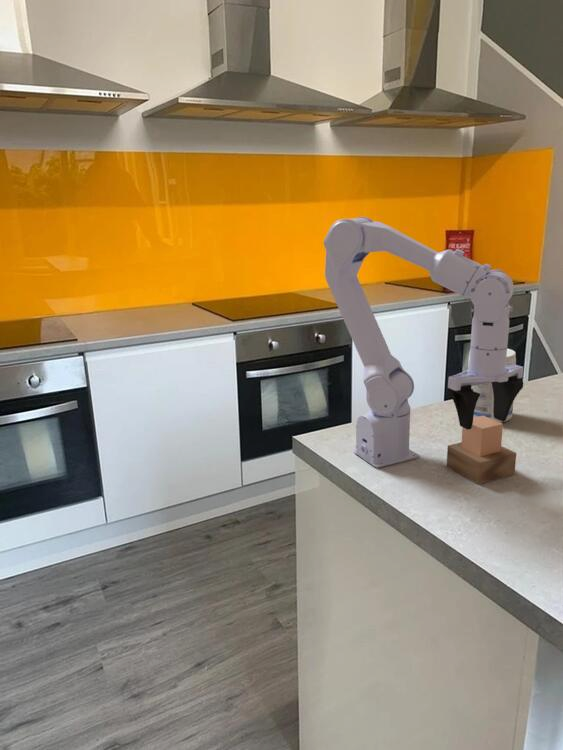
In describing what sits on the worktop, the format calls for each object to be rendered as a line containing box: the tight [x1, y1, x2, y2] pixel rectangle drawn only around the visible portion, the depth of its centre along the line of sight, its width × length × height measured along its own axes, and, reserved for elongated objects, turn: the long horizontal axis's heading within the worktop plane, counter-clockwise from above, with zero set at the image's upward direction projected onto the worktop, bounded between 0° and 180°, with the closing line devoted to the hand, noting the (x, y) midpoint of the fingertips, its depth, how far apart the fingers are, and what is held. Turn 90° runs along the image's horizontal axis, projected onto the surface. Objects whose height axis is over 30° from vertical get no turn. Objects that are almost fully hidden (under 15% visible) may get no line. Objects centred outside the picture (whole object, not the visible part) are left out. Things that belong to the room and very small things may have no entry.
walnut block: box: [446, 441, 517, 485], centre depth 102 cm, size 8×8×4 cm
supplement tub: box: [467, 348, 517, 424], centre depth 125 cm, size 10×10×15 cm
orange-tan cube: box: [461, 416, 504, 456], centre depth 101 cm, size 5×5×5 cm
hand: (482, 423), depth 100 cm, fingers open, 7 cm apart
